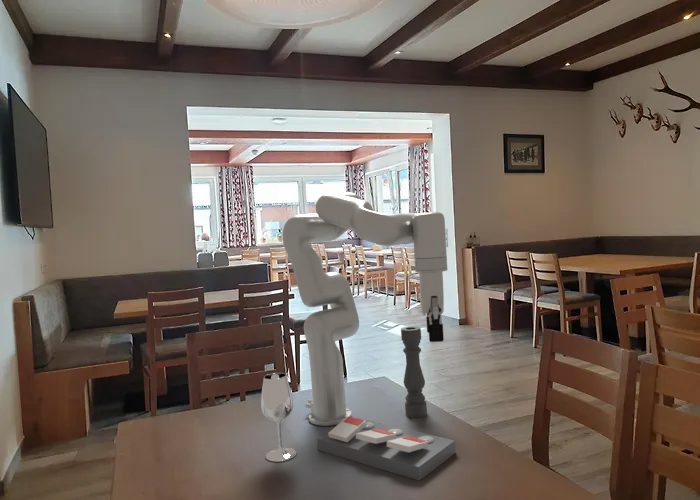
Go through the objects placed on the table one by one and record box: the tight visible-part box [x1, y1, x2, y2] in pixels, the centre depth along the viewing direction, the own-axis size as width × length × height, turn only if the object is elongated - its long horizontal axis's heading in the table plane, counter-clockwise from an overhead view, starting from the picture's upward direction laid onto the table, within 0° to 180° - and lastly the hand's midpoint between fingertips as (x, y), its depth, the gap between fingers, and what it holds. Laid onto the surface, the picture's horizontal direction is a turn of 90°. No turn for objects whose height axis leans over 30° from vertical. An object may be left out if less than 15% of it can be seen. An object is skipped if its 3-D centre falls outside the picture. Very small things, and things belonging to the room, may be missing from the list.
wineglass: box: [260, 372, 297, 463], centre depth 131 cm, size 8×8×20 cm
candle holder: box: [400, 326, 428, 419], centre depth 152 cm, size 6×6×25 cm
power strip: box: [316, 417, 457, 481], centre depth 131 cm, size 35×16×3 cm, turn 50°
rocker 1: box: [327, 416, 367, 442], centre depth 132 cm, size 6×8×1 cm
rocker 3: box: [387, 436, 428, 452], centre depth 121 cm, size 6×8×1 cm
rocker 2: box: [356, 429, 396, 444], centre depth 127 cm, size 6×8×1 cm
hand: (435, 336), depth 125 cm, fingers open, 9 cm apart
